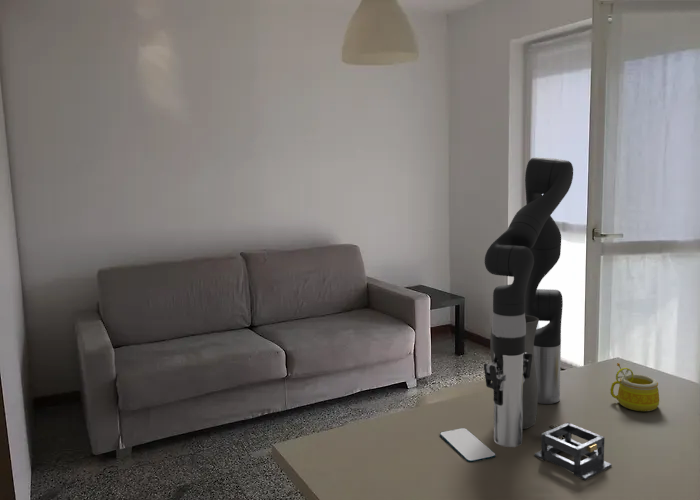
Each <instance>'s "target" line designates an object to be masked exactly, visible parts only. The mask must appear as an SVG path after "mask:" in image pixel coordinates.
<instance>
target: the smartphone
mask: <svg viewBox="0 0 700 500" xmlns="http://www.w3.org/2000/svg"><path fill="white" fill-rule="evenodd" d="M439 436H440V437H441V438H442V439H443V441H445V442H446V443H447V444H448V445H449V446H450V447H451V448H453V450H454V451H456V453H458V454H459V455H460V456H461V458H463V459H464V460H465V461H466V462H468V463H475V462H479V461H483V460H488V459H489V460H490V459H494V458H496V455H497V454H496V453H495V452H494V451H493V450H492V449H491V448H489V447H488V446H487V445H486V444H485V443H484V442H482V440H480V439H479V438H478V437H477V436H476V435H475V434H473V433H472V432H471V431H470V430H469V429H467V428H465V427H460V428H455V429H451V430H445V431H441V432H440V433H439Z"/></svg>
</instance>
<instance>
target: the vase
mask: <svg viewBox="0 0 700 500" xmlns="http://www.w3.org/2000/svg"><path fill="white" fill-rule="evenodd" d="M525 319H526V350H525V352H527V353H530V354H532V363H531V370H530V377H529V378H528V379H527V378H526V379H525V381H524V383H523V418H522V430H525V429H529V428H531V427H533V426H534V425H535V424H536V421H537V416H538V415H537V414H538V403H537V401H538V391H537V376H536V368H535V360H534V338H535V333H536V329H538V328H537V327H538V325H539V319H538V318H537V317H534V316H529V315H525ZM490 329H491V330H490V346H489V347H490V348H489V349H490V359H491V363H492V362H493V360H494V352H493V350H492V327H491V328H490ZM525 371H526V368H525V367H524V371H523V372H525Z"/></svg>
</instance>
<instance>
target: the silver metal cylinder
mask: <svg viewBox="0 0 700 500" xmlns="http://www.w3.org/2000/svg"><path fill="white" fill-rule="evenodd" d="M494 357H495V354H494ZM502 358H503V369H502V370H500V369H499V371H498V372H497V373H498V375H499V377H503V376H504V375H506V380H505V381H504V382H503V390H502V391H503V405H501V406H500V405H497V404H495V402H494V401H493V440H494V442H495V444H497V445H499V446H501V447H506V448H516V447H519V446H520V445H522V444H523V429H522V418H523V354H521V355H516V356H507V355H503V356H502ZM498 384H500V379H498Z"/></svg>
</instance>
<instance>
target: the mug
mask: <svg viewBox="0 0 700 500" xmlns="http://www.w3.org/2000/svg"><path fill="white" fill-rule="evenodd" d="M616 366H618V368H619V370H618V371H616V375H615V381H614V382H612V383H611V386H610V389H609V390H610V395H611V397H612V398H614V399H616V400H617V401H618V403H619V405H621V406H623V408H626V409H629V410H631V411H636V412H651V411H654V410H656V409H658V407H659V405H660V392H659V387H658V386H659V382H658V381H657V380H656V379H655V378H653V377H650V376H648V375H644V374H638V373H636V374H635V373H634V372H633V370H632V369H630V368H628V367H622V366H621V364H620V362H618V363H616ZM621 367H622V368H621ZM624 370H626V371H625V373H624ZM629 371H630V374H628V373H629ZM620 373H621V374H622V376H621V375H620V376H619V374H620ZM615 385H618V389H617V390H618V391H617V394H614V388H615Z"/></svg>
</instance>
